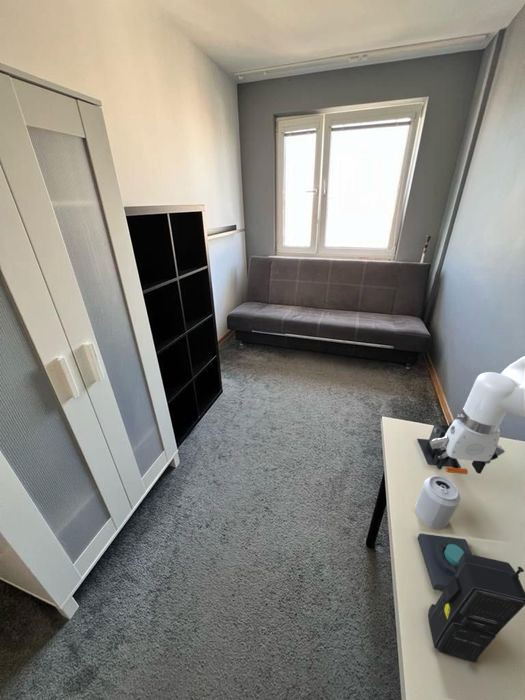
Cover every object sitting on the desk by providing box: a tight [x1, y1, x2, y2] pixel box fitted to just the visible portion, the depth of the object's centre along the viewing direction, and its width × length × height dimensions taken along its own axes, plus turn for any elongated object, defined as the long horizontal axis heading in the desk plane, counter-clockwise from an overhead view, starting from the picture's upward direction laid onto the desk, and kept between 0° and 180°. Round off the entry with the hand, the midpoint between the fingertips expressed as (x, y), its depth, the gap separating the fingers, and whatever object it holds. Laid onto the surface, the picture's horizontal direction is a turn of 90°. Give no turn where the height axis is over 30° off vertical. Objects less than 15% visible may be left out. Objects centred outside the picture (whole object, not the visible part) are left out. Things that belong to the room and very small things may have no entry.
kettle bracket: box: [416, 420, 462, 468], centre depth 85 cm, size 10×9×12 cm
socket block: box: [417, 533, 473, 591], centre depth 61 cm, size 10×10×4 cm
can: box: [414, 475, 461, 530], centre depth 68 cm, size 8×8×12 cm
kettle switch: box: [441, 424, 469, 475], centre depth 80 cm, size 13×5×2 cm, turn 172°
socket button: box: [444, 544, 464, 567], centre depth 60 cm, size 4×4×2 cm
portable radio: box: [427, 553, 525, 663], centre depth 46 cm, size 8×6×25 cm
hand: (456, 466), depth 76 cm, fingers open, 9 cm apart
